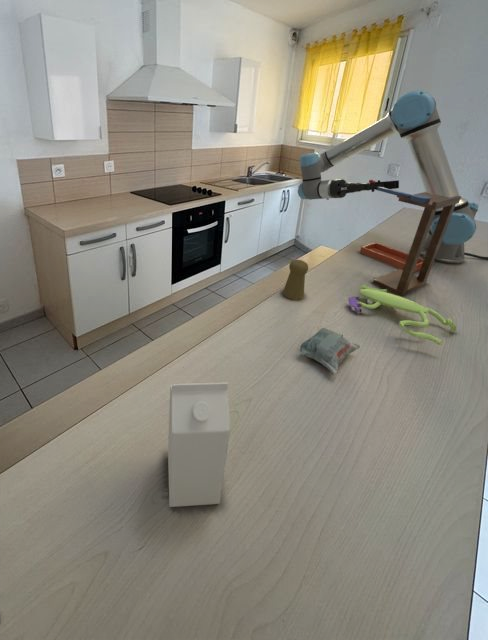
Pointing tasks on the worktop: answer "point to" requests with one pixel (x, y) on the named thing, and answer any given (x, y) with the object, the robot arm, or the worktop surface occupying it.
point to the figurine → (401, 304)
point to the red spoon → (374, 183)
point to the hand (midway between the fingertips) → (396, 184)
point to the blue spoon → (407, 195)
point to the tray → (388, 255)
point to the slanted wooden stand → (420, 246)
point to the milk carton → (197, 443)
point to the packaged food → (328, 348)
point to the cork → (296, 280)
